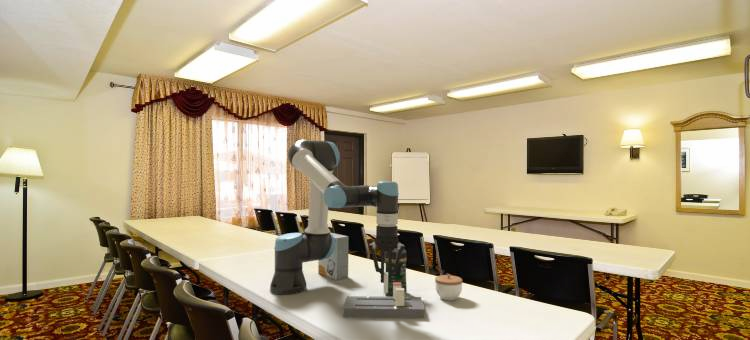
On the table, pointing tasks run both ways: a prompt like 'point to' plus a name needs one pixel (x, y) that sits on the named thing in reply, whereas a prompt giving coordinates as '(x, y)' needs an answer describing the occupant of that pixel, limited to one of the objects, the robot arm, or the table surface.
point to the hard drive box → (336, 259)
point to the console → (383, 307)
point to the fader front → (399, 297)
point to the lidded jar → (448, 286)
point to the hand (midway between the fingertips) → (385, 291)
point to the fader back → (395, 285)
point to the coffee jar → (401, 270)
